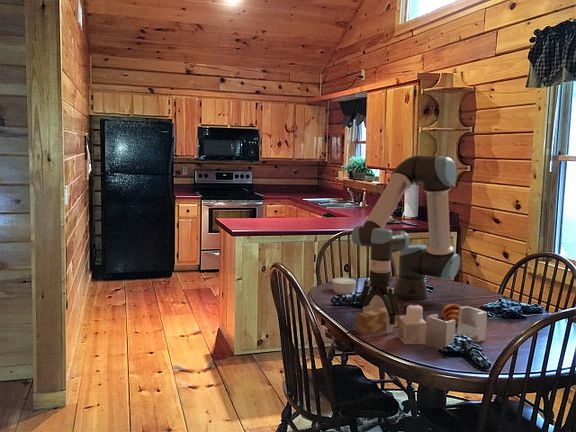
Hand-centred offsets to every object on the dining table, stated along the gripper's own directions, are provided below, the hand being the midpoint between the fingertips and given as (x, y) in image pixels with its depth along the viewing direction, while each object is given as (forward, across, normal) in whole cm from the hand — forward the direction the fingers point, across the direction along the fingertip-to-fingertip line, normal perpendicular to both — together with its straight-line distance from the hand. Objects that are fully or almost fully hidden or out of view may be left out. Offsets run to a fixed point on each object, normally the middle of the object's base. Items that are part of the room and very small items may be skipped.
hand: (377, 327), depth 200 cm
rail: (0, 0, 0) cm, 0 cm away
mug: (0, -11, +13) cm, 17 cm away
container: (0, +15, +1) cm, 15 cm away
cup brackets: (0, +25, +13) cm, 28 cm away
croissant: (+1, +9, +34) cm, 35 cm away
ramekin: (+1, -45, +23) cm, 51 cm away
